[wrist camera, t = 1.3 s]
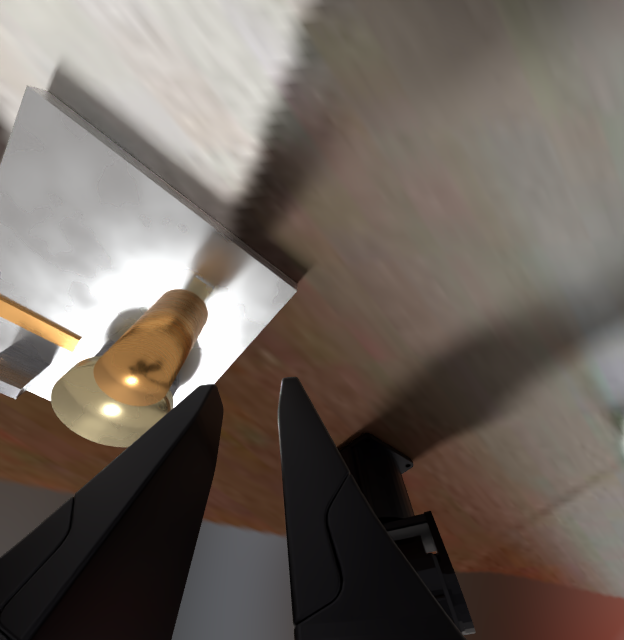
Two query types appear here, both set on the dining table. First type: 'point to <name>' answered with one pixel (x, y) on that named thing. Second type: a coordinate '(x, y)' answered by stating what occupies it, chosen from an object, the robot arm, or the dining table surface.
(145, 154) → the dining table surface
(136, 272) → the base
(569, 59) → the dining table surface
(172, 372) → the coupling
